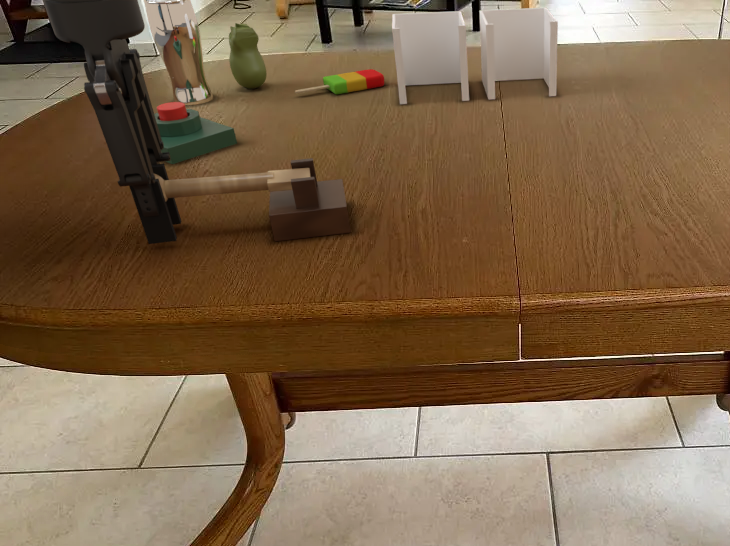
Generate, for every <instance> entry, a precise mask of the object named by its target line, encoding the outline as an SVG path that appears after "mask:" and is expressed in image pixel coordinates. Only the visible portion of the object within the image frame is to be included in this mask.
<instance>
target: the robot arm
mask: <svg viewBox="0 0 730 546" xmlns="http://www.w3.org/2000/svg"><path fill="white" fill-rule="evenodd" d="M42 2H43V6H44V8H45V11H46V14H47V16H48V19H49V22H50V25H51V27H52V30H53V33H54V35H55V37H56V38H57V39H58V40H59V41H62V42H64V43H68V44H75V43H76V44H79V45H80V46H82V48H83V49H84V55H85V59H86V61H85V62H83V70H84V72H85V75H86V79H87V81H88V82H84V83H83V86H84V87H83V89H84V92H85V94H86V96H87V98H88V100H89V102H90V104H91V106H92V108H93V110H94V113H95V116H96V118H97V121H98V124H99V127H100V129H101V132H102V135H103V138H104V140H105V144H106V145H107V149H108V151H109V154H110V157H111V160H112V162H113V165H114V168H115V170H116V174H117V176H118V180H117V181H116V182H117V184H118V186H119V187H129V191H130V194H131V193H132V195H131V197H132V196H133V197H132V200H133V202H134V204H135V208H136V210H137V211H136V212H137V213H138V217H139V219H140V223H141V224H142V228H143V231H144V234H145V237H146V240H147V243H148V245H153V244H162V243H170V242H171V243H172V242H177V239H178V237H177V234H176V230H175V227H174V226H177V225H181V224H182V219H181V218H182V217H181V215H180V212H179V208H178V205H177V201H176V198H168V199H167V201H165V198H164V195H163V192H162V188H161V185H160V182H159V179H155V175H154V174H157V175H159V176H160V177H161V178H163V179H164V180H170V178H169V175H168V172H167V169H166V165H165V163H163V162H165V161H170V160H171V158H170V153H169V152H164V153H162V152H161V150H163V148H164V144H163V141H162V139H161V136H160V132H159V129H158V126H157V122H156V119H155V115H154V114H155V111H154V109H153V108H154V107H153V105H152V102H151V98H150V95H149V91H148V87H147V83H146V80H145V77H144V73H143V68H142V63H141V60H140V58H141V55H140V53H139V52H138V49H137V48H130V46H129V44H128V41H127V39H131V38H134V37H136V36H138V35H140V34H142V33H143V32H144V30H145V29H146V28H145V25H146V24H145V21H144V17H143V15H142V14H143V13H142V11H141V7H140V3H139V0H42Z"/></svg>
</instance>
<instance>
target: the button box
mask: <svg viewBox="0 0 730 546" xmlns="http://www.w3.org/2000/svg"><path fill="white" fill-rule="evenodd" d="M186 111H187V114H188V117H186V118H183V119H180V120H173V121H161V120H160V117H159V114H158V112H156V113H155V112H154V115H155V119H156V122H157V126H158V129H159V132H160V136H161V139H162V141H163V144H164V148H163V150H161V152H162V153H164V152H169V153H170V158H171V160H170V161H164V162H165V163H168V164H171V165H175V164H178V163H181V162H184V161H187V160H190V159H193V158H197V157H199V156H203V155H206V154H209V153H212V152H215V151H218V150H221V149H224V148H225V149H226V148H228V147H231V146H235V145H237V144H238V140H237V137H236V132H235V128H234V127H231V126H228V125H225V124H222V123H219V122H216V121H213V120H210V119H208V118H204V117H202V116H200V112H199V111H198V110H195V109H192V108H186Z"/></svg>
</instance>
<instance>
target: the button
mask: <svg viewBox="0 0 730 546" xmlns="http://www.w3.org/2000/svg"><path fill="white" fill-rule="evenodd" d="M186 109H187V108H186V105H185V104H184V103H181V102H174V101H171V102H165V103H161V104H159V105H158V106H156V110H157V113H158V114H159V117H160V120H161V121H173V120H180V119H183V118H186V117H188V114H187V111H186Z"/></svg>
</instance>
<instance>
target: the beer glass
mask: <svg viewBox="0 0 730 546" xmlns="http://www.w3.org/2000/svg"><path fill="white" fill-rule="evenodd" d="M143 2H144V7H145V13H146V17H147V21H148V26H149V29H150V32H151V37H152V40H153V41H154V44H155V47H156V49H157V51H158V53H159V55H160V58H161V60H162V62H163V64H164V66H165V69H166V71H167V74H168V76H169V80H170V82H171V88H172V89H171V90H172V97H173V102H181V103H184V104H185V106H197V105H202V104H205V103H209V102H211V101H213V99H214V95H213V92H212V89H211V87H210V86H209V83H208V80H207V77H206V74H205V67H204V55H203V44H202V38H201V37H202V36H201V31H200V27H199V23H198V19H197V16H196V13H195V9H194V7H193V4H192V0H143Z"/></svg>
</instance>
